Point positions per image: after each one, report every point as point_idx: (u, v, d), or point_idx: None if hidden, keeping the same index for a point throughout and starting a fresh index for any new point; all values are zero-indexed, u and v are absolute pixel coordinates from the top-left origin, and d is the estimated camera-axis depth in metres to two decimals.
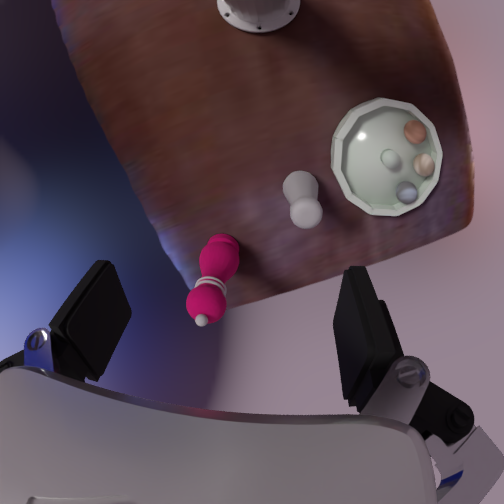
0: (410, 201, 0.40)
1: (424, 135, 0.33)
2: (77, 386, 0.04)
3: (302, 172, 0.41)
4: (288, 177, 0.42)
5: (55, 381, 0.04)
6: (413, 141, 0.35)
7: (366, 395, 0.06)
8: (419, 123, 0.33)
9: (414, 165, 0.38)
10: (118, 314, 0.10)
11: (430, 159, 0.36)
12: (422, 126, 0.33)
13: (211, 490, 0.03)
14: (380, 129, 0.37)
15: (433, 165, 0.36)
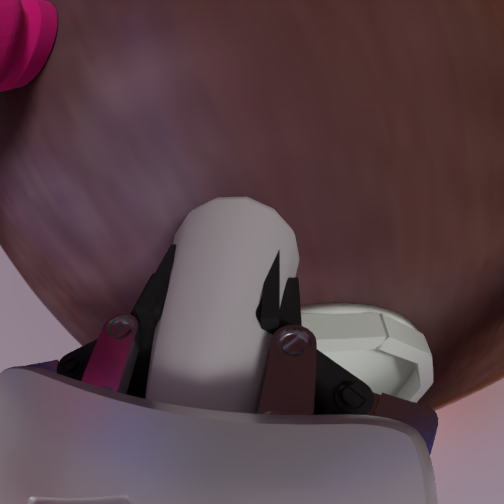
0: None
1: None
2: (77, 386, 0.04)
3: None
4: (278, 223, 0.11)
5: (55, 381, 0.04)
6: None
7: None
8: None
9: None
10: None
11: None
12: None
13: (211, 490, 0.03)
14: (372, 376, 0.20)
15: None
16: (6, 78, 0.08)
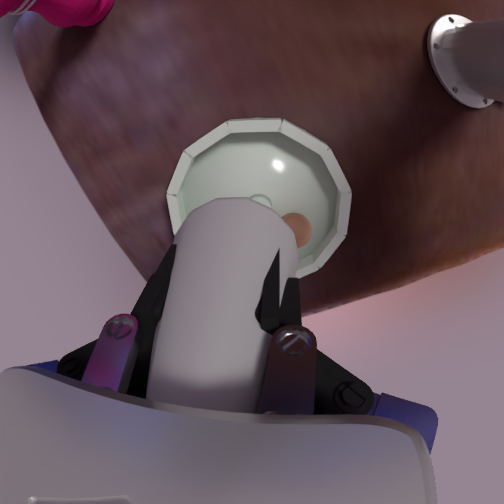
0: None
1: None
2: (77, 387, 0.04)
3: None
4: (278, 224, 0.11)
5: (55, 381, 0.04)
6: None
7: None
8: (299, 228, 0.28)
9: None
10: None
11: None
12: (294, 231, 0.28)
13: (211, 490, 0.03)
14: (300, 190, 0.30)
15: None
16: (86, 17, 0.17)
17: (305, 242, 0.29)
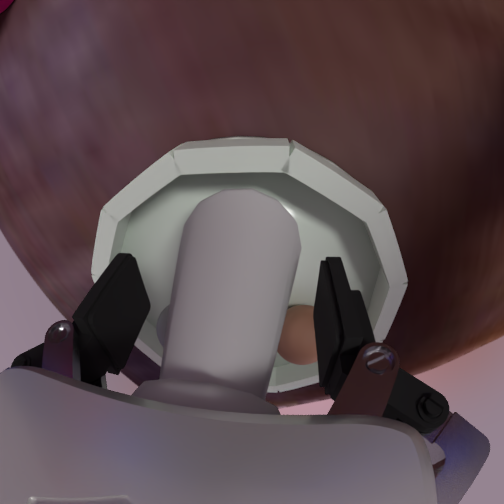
0: None
1: (282, 344, 0.16)
2: (77, 387, 0.04)
3: None
4: (282, 213, 0.12)
5: (55, 381, 0.04)
6: None
7: (337, 381, 0.07)
8: None
9: None
10: (139, 307, 0.11)
11: None
12: (305, 343, 0.15)
13: (211, 490, 0.03)
14: (317, 272, 0.17)
15: None
16: None
17: None
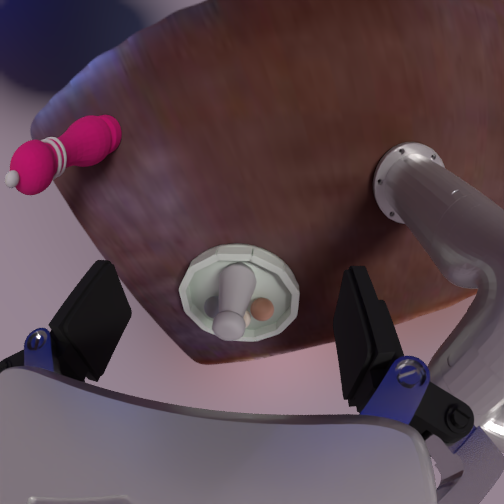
0: (215, 302, 0.45)
1: (253, 309, 0.45)
2: (77, 386, 0.04)
3: (255, 284, 0.42)
4: (249, 273, 0.41)
5: (55, 381, 0.04)
6: None
7: (366, 395, 0.06)
8: (265, 305, 0.44)
9: None
10: (118, 314, 0.10)
11: (246, 316, 0.46)
12: (261, 307, 0.44)
13: (211, 490, 0.03)
14: (266, 288, 0.46)
15: None
16: None
17: (269, 315, 0.45)
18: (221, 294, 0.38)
